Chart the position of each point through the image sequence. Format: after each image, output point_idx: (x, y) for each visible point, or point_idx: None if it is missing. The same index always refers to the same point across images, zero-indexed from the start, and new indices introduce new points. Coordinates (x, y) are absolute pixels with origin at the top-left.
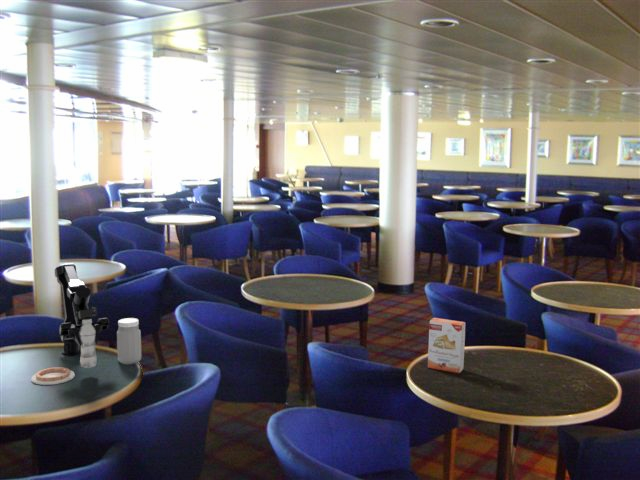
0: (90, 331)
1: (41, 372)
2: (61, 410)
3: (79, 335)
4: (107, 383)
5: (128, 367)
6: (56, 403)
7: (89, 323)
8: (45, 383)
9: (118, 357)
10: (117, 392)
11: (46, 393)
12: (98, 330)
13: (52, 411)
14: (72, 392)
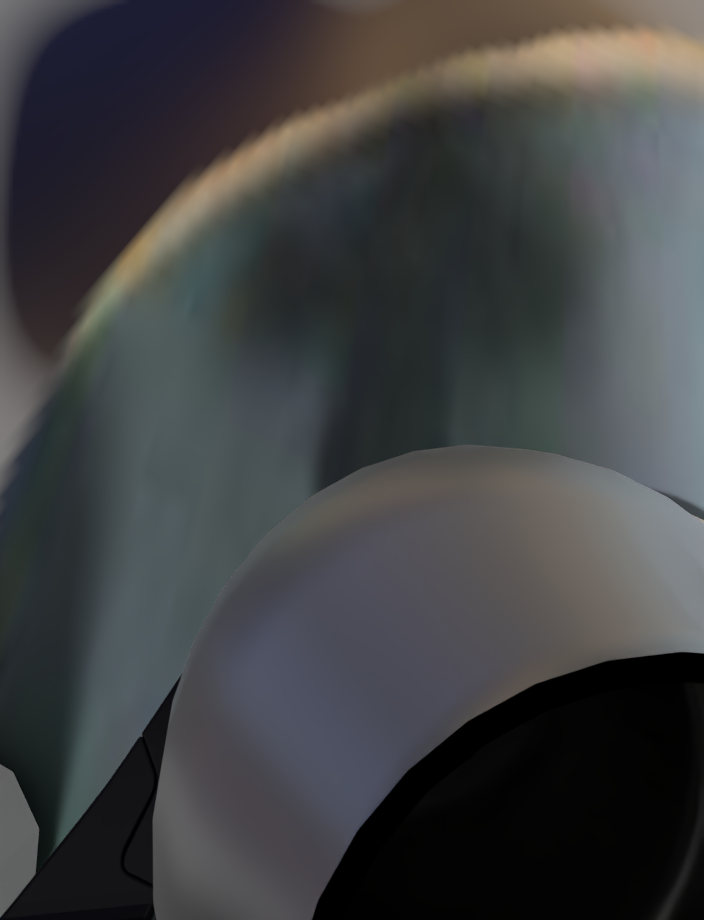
0: (409, 464)
1: None
2: (589, 65)
3: (683, 705)
4: (269, 359)
5: (14, 662)
6: (615, 168)
7: (601, 658)
8: (698, 518)
9: (14, 877)
10: (247, 174)
11: (676, 353)
12: (39, 899)
13: (636, 73)
14: (514, 297)
